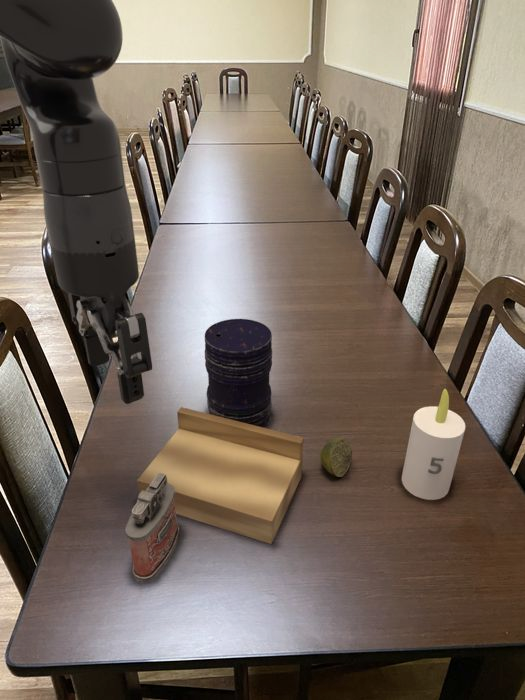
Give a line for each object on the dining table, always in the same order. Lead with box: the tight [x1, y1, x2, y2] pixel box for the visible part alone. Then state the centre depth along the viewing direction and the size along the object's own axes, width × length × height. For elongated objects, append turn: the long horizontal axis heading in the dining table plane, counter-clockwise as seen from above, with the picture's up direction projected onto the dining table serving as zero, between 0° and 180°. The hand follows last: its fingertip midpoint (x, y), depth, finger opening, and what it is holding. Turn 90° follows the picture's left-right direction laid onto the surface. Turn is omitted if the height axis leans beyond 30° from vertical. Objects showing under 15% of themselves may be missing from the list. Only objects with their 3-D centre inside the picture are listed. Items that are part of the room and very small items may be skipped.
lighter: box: [124, 473, 180, 584], centre depth 60 cm, size 8×3×10 cm, turn 161°
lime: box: [319, 437, 353, 478], centre depth 73 cm, size 4×5×5 cm
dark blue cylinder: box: [204, 318, 273, 428], centre depth 81 cm, size 10×10×15 cm
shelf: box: [137, 406, 305, 545], centre depth 70 cm, size 12×18×7 cm, turn 69°
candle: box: [401, 388, 466, 501], centre depth 69 cm, size 6×6×15 cm
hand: (115, 380), depth 58 cm, fingers open, 8 cm apart
